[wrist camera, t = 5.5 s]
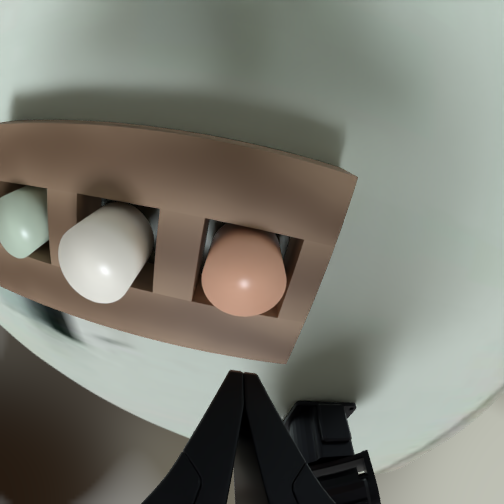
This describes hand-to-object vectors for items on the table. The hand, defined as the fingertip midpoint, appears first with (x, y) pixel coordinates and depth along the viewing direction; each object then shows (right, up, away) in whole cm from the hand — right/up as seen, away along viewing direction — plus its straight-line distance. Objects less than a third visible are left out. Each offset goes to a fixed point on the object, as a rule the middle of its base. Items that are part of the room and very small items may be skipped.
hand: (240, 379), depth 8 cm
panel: (-7, +6, +8) cm, 12 cm away
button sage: (-14, +7, +7) cm, 17 cm away
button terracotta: (0, +4, +8) cm, 9 cm away
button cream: (-7, +5, +6) cm, 10 cm away
